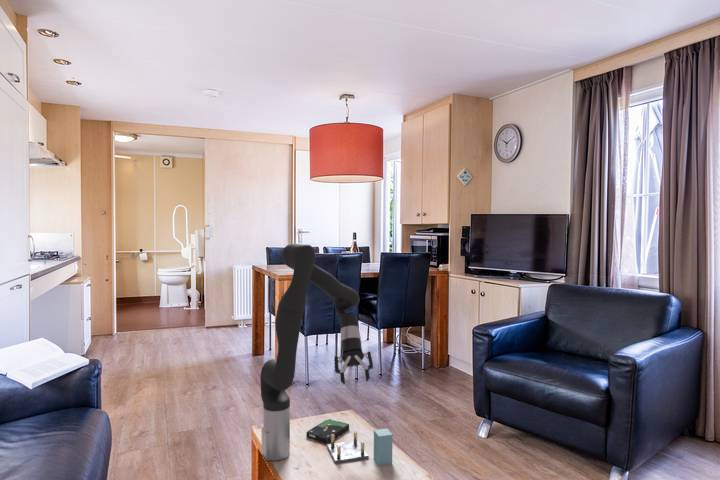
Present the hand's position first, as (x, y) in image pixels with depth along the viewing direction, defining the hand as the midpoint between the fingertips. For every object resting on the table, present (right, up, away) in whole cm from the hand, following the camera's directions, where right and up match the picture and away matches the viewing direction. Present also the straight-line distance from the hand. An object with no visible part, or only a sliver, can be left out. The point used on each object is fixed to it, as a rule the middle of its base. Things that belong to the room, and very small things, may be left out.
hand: (355, 382), depth 167 cm
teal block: (+9, -24, -10) cm, 28 cm away
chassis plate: (-3, -24, -5) cm, 24 cm away
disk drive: (-11, -24, +10) cm, 28 cm away
